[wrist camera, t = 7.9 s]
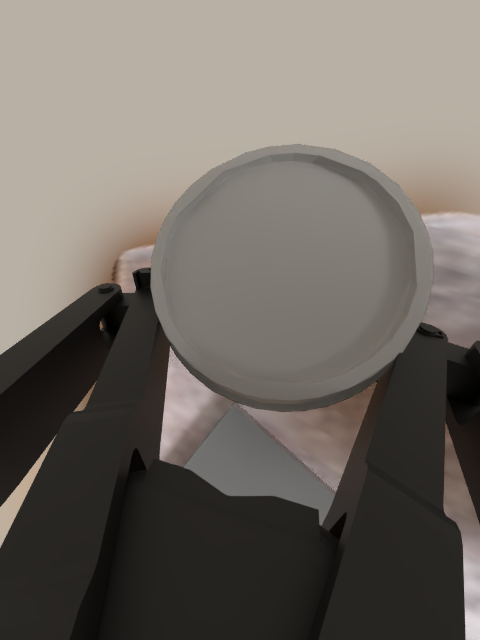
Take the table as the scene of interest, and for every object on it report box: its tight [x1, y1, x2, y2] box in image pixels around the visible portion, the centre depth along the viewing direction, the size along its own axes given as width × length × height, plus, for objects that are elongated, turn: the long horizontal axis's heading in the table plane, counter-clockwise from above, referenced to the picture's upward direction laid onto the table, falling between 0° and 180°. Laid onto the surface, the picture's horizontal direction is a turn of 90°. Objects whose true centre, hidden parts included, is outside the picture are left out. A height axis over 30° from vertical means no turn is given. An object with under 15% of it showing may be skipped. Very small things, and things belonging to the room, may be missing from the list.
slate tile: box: [183, 402, 336, 526], centre depth 20 cm, size 14×14×2 cm
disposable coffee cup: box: [151, 144, 433, 412], centre depth 13 cm, size 10×10×12 cm
